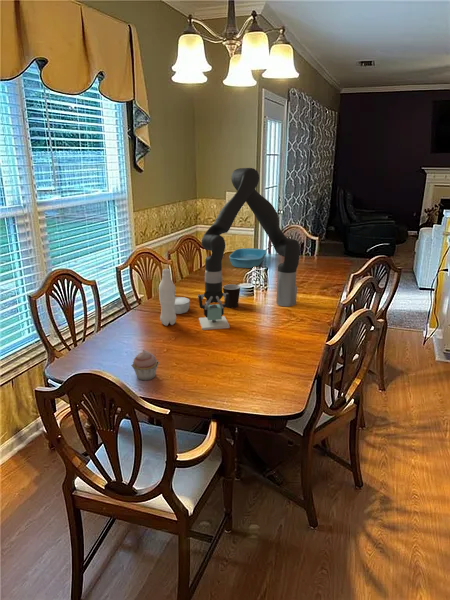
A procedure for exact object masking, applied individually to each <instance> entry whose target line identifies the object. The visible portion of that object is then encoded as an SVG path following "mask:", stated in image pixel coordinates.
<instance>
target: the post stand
mask: <svg viewBox="0 0 450 600" xmlns="http://www.w3.org/2000/svg"><path fill="white" fill-rule="evenodd" d="M211 305H212V308H216V304H214V303H211ZM198 321H199V325H200V327H201V330H202V331H205V330H207V331H209V330H220V329H230V328H231V327H230V324H229V322H228V320H227V318H226V316H225V315H222V319H221V320H208V319H207V317H206V316H204V317H198Z"/></svg>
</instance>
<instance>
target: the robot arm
mask: <svg viewBox="0 0 450 600" xmlns="http://www.w3.org/2000/svg"><path fill="white" fill-rule="evenodd" d="M230 179H231V183H232V187H234V189H235V190H236V192H235V194H234V195H233V196H232V197H231V199H230V200H228V201H227V202H226V203H225V205H224V206H223V207H222V208H221V209H220V211H219V213H218V215H217V217H216V218H215V220H214V222H213V223H212V225H211V226H209V228H207V230H206V231H205V232H204V234H203V236H202V238H201V246H202V248H203V249H204V250H206V251H209V252H211V255H208V256H206V257H205V260H204V262H205V266H204V271H205V272H204V293H203V294H197V299H198V303H199V304H198V305H199V307H200V309H201V310H202V309H203V315H204V317H207V308H208V306H209V305H211V304H214V303H217V304H219V305H220V307H221V309H222V316H224V314H225V313H224V309H225V308H227V306H228V301H229V294H228V293H223V270H222V267H223V266H222V265H223V263H222V262H223V258H224V253H225V250H226V239H225V238H224V237H223V236H222V234H227V233H228V232H229V231H230V229H231V227H232V225H233V224H234V222H235V219H236V218H237V215H238V214H239V212H240V210H241V209H242V207H243V206H244V204H245V203H246V205H247V206H248V207H249V209H250V211H252V213H253V215H254V217H255V218H256V220H257V221H258V223H259V225H260V226H261V228H262V229H263V230H264V233H265V234H266V235H267V237H268V238H269V240H270V242H271V244H272V246H273V248H274V251H275V252H276V253H277V254H278V255H279V256H281V257H283V262H281V263H279V264H278V265H277V277H276V278H277V279H276V280H277V281H276V303H275V304H277V306H281V307H293V306H296V305H297V295H298V294H297V293H298V292H297V291H298V286H297V268H298V267H299V262H300V253H301V246H300V243H299V241H298V240H297V239H294V238H290V237H287V236H286V235H285V234H284V232H283V231H282V229H281V228H280V227H281V226H280V217H279V214H278V212H277V210H276V209H275V207H274V205H273V204H272V203H271V202H270V201H269V200H268V199H267V198H266V197H264V196H263V195H262V194H260V193H259V192H258V191H257V190H256V188H257V186H258V185H259V182H260V175H259V172H258V170H257V169H255V168H254V167H241V168H236V169H234V170H233V171H232V173H231V175H230ZM204 298H205V299H206V300H205V303H204V304H203V300H204ZM222 298H223V299H224V298H225V301H223V302H224V303H222V301H221V299H222Z"/></svg>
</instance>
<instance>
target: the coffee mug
mask: <svg viewBox="0 0 450 600" xmlns="http://www.w3.org/2000/svg"><path fill="white" fill-rule="evenodd" d="M240 291H241V286H240V285H238V284H233V283H230V284H225V285H222V292H223V293H228V294H229V301H228V306H227V307H226V308H227V309H236V308H238V307H239V300H240ZM223 299H224V301H225V298H224V297H223ZM224 301H223V302H224Z"/></svg>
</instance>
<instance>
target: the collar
mask: <svg viewBox="0 0 450 600" xmlns="http://www.w3.org/2000/svg"><path fill="white" fill-rule="evenodd" d="M215 305H216V308H212V304H209V306H208V308H207V319H208V320H221V319H222V316H223V315H222V309H221V307H220V305H219V303H217V304H215Z"/></svg>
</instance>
